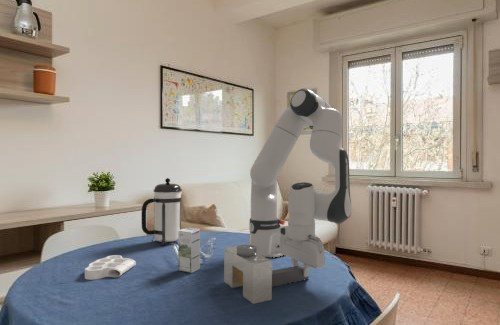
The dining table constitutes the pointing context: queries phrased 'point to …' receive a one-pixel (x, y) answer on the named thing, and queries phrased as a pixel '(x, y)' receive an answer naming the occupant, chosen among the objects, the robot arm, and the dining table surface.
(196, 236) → the syrup box
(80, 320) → the dining table surface
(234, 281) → the grey bridge block
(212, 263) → the dining table surface
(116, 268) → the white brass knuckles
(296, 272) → the grey and tan bar
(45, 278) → the dining table surface
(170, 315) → the dining table surface
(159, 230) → the coffee press
